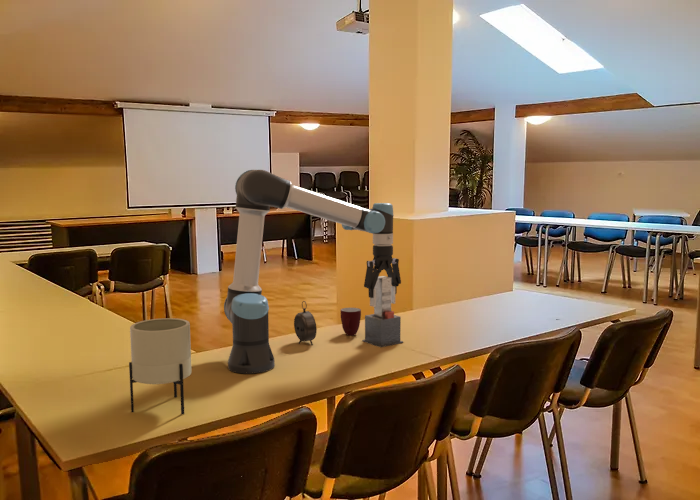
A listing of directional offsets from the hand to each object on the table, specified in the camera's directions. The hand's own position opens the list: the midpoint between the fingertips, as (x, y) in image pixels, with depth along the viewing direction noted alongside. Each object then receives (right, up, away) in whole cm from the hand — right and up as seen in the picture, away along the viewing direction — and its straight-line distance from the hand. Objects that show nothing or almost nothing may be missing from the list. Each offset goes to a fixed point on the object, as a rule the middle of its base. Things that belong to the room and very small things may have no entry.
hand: (382, 304), depth 229 cm
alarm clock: (-29, -15, 0) cm, 33 cm away
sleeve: (0, -14, +2) cm, 14 cm away
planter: (-63, -22, -64) cm, 93 cm away
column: (0, -14, +2) cm, 14 cm away
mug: (-12, -13, +12) cm, 22 cm away
